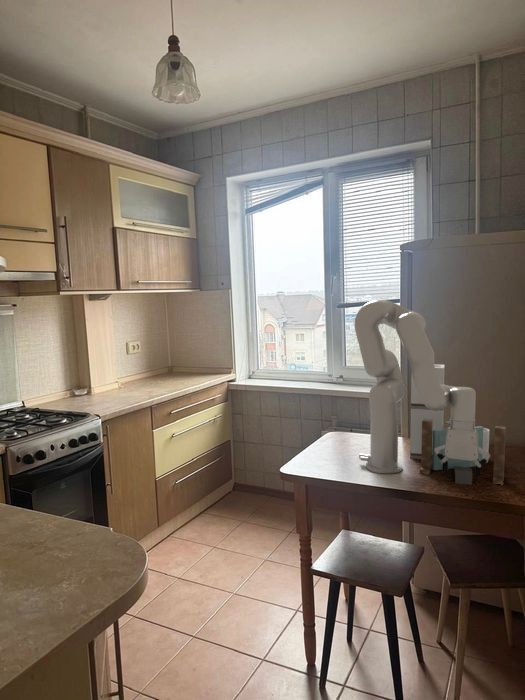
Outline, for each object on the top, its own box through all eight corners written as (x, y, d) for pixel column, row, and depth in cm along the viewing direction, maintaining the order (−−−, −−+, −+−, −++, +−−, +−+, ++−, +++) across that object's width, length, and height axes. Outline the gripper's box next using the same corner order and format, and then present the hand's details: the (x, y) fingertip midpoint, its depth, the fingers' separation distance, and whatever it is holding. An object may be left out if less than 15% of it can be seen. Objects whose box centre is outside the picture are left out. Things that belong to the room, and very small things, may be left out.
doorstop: (455, 484, 163) (455, 470, 163) (454, 470, 176) (454, 458, 176) (471, 485, 162) (472, 472, 161) (469, 471, 175) (469, 459, 174)
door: (434, 470, 174) (435, 431, 173) (432, 469, 176) (432, 430, 174) (482, 465, 179) (483, 427, 178) (479, 464, 180) (481, 426, 179)
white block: (442, 453, 196) (444, 364, 192) (441, 461, 186) (443, 368, 183) (412, 450, 200) (413, 363, 197) (410, 458, 190) (411, 367, 187)
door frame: (419, 473, 173) (420, 422, 171) (424, 466, 180) (424, 417, 178) (503, 485, 161) (504, 430, 159) (504, 477, 168) (505, 425, 166)
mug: (483, 465, 181) (484, 432, 180) (465, 460, 186) (466, 429, 185) (495, 459, 187) (496, 427, 186) (478, 455, 192) (479, 424, 191)
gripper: (432, 424, 164) (431, 475, 166) (490, 430, 156) (488, 483, 158) (436, 419, 171) (435, 468, 173) (492, 425, 163) (490, 476, 164)
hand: (461, 475), depth 165 cm, fingers open, 9 cm apart
